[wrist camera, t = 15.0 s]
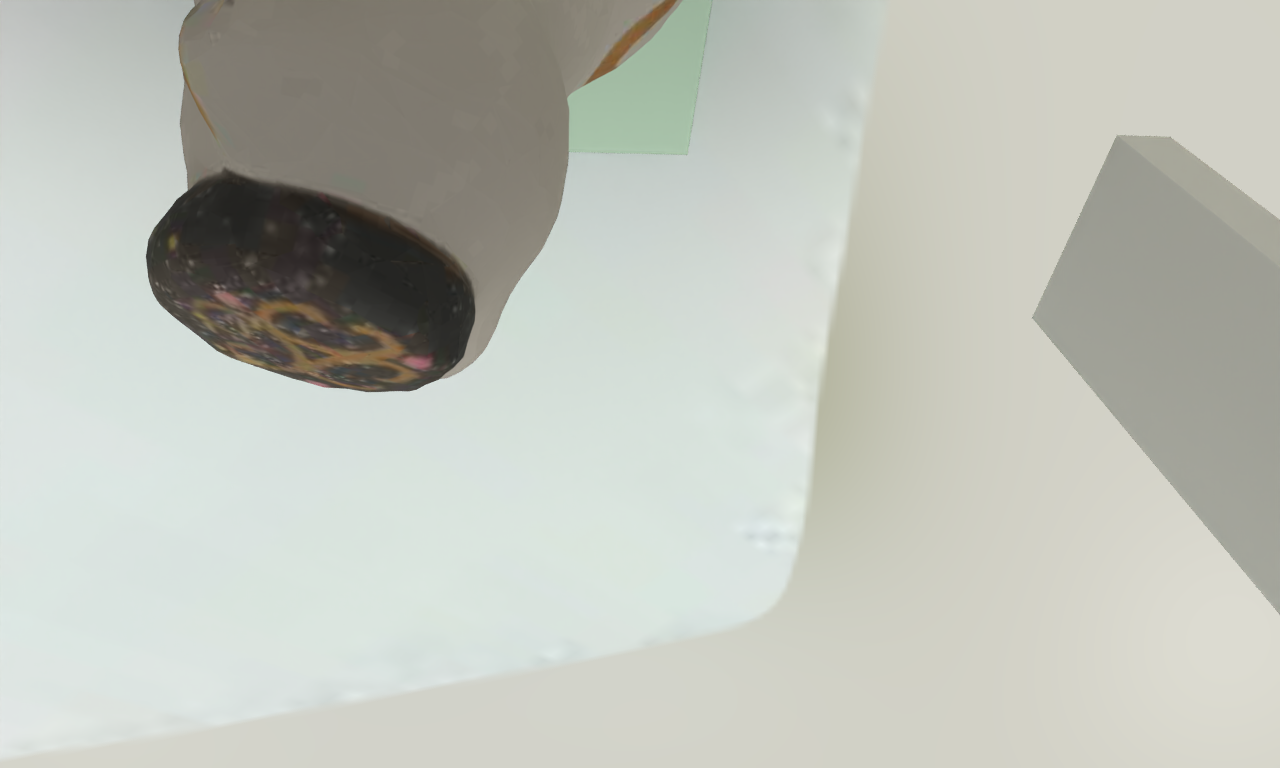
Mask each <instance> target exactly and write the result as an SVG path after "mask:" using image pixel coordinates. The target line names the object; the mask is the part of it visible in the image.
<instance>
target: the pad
mask: <svg viewBox="0 0 1280 768" xmlns="http://www.w3.org/2000/svg"><path fill="white" fill-rule="evenodd" d="M711 5H712V0H683V1H682V2H681V3H680V5H679V6H678V7H677V9H676V10H675V11H674V12H673V13H672V14H671V15H670V16H669V18H668V19H667V20H666V22H665V23H664V25H663V26H662V27H661V29H660V30H659V31H658V32H657V33H656V34H655V35H654V37H653V38H652V39H651V40H650V41H649V42H647V43H646V44H645V45H644V46H643V47H642V48H641V49H639V50H638V51H637V52H636V53H635V54H633V55H632V56H631V57H630V58H629V59H627V60H626V61H625V62H624V63H623V64H621V65H620V66H619V67H618V68H616V69H615V70H613V71H611V72H609V73H607V74H605V75H603V76H601V77H599V78H597V79H596V80H594V81H592V82H590V83H588V84H586V85H585V86H583V87H581V88H579V89H577V90H576V91H574V92H573V93H571V94H570V95H569V96H568V98H567V101H568V106H569V152H594V153H634V154H673V155H687V153H688V147H689V141H690V135H691V129H692V122H693V116H694V110H695V104H696V98H697V91H698V85H699V79H700V73H701V67H702V60H703V54H704V48H705V42H706V36H707V30H708V23H709V17H710V11H711Z"/></svg>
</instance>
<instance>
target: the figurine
mask: <svg viewBox="0 0 1280 768" xmlns="http://www.w3.org/2000/svg"><path fill="white" fill-rule="evenodd" d="M682 1H683V0H194V3H195V7H194V8H193V9H192V10H191V11H190V12H189V14H188V15H187V17H186V18H185V20H184V21H183V25H182V28H181V31H180V35H179V56H180V63H181V66H182V70H183V76H184V80H185V83H184V92H183V100H182V109H181V117H180V128H181V136H182V145H183V153H184V159H185V164H186V169H187V182H188V191H187V192H186V193H184V194H183V195H182V196H181V197H179V198H178V199H177V200H176V201H175V203H174V204H173V206H172V207H171V208H170V209H169V211H168V212H167V213H166V214H165V216H164V217H163V218H162V219H161V221H160V222H159V223H158V224H157V225H156V227H155V228H154V230H153V232H152V234H151V236H150V238H149V240H148V247H147V254H146V260H147V269H148V277H149V282H150V285H151V288H152V291H153V294H154V296H155V297H156V299H157V301H158V302H159V304H160V305H161V306H162V307H164V308H165V309H166V310H167V311H168V312H169V313H170V314H171V315H172V316H173V317H175V318H176V319H177V320H179V321H180V322H181V323H182V324H184V325H185V326H186V327H188V328H189V329H190V330H192V331H193V332H194V333H196V334H197V335H198V336H200V337H201V338H202V339H203V340H204V341H206V342H207V343H208V344H209V345H211V346H212V347H213V348H214V349H215V350H217V351H219V352H221V353H223V354H225V355H227V356H229V357H231V358H233V359H236V360H239V361H242V362H245V363H248V364H251V365H254V366H257V367H260V368H263V369H265V370H268V371H272V372H275V373H278V374H281V375H284V376H287V377H290V378H293V379H297V380H301V381H305V382H308V383H311V384H315V385H318V386H321V387H327V388H346V389H352V390H358V391H364V392H386V391H412V390H417V389H418V388H420V387H422V386H424V385H426V384H429V383H431V382H434V381H436V380H439V379H442V378H448V377H450V376H452V375H455V374H457V373H459V372H461V371H462V370H463V369H465V368H466V367H468V366H469V365H470V364H472V363H473V362H474V361H475V360H476V359H477V358H478V357H479V356H480V355H481V354H482V353H483V351H484V350H485V348H486V347H487V345H488V343H489V341H490V339H491V337H492V335H493V333H494V331H495V329H496V327H497V324H498V321H499V319H500V316H501V313H502V311H503V308H504V306H505V304H506V302H507V300H508V298H509V296H510V294H511V292H512V291H513V289H514V288H515V286H516V284H517V283H518V281H519V280H520V278H521V277H522V275H523V274H524V273H525V271H526V270H527V269H528V267H529V266H530V265H531V263H532V262H533V261H534V259H535V258H536V257H537V255H538V254H539V253H540V251H541V250H542V248H543V246H544V244H545V242H546V240H547V238H548V236H549V234H550V232H551V229H552V227H553V225H554V223H555V221H556V219H557V216H558V213H559V209H560V205H561V201H562V195H563V189H564V183H565V178H566V172H567V166H568V155H569V106H568V101H567V98H568V96H569V95H570V94H571V93H573V92H574V91H576V90H577V89H579V88H581V87H583V86H585V85H586V84H588V83H590V82H592V81H594V80H596V79H597V78H599V77H601V76H603V75H605V74H607V73H609V72H611V71H613V70H615V69H616V68H618V67H619V66H620V65H621V64H623V63H624V62H625V61H626V60H627V59H629V58H630V57H631V56H632V55H633V54H635V53H636V52H637V51H638V50H639V49H641V48H642V47H643V46H644V45H645V44H646V43H647V42H649V41H650V40H651V39H652V38H653V37H654V35H655V34H656V33H657V32H658V31H659V30H660V29H661V27H662V26H663V25H664V23H665V22H666V20H667V19H668V18H669V16H670V15H671V14H672V13H673V12H674V11H675V10H676V9H677V7H678V6H679V5H680V3H681V2H682Z"/></svg>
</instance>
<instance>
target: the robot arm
mask: <svg viewBox="0 0 1280 768" xmlns="http://www.w3.org/2000/svg"><path fill="white" fill-rule="evenodd" d="M1032 318H1033V319H1034V321H1035V322H1036V323H1037V324H1038V325H1039V327H1040V328H1041V329H1042V330H1043V331H1044V332H1045V334H1046V335H1047V336H1048V337H1049V339H1050V340H1051V341H1052V342H1053V343H1054V345H1055V346H1056V347H1057V348H1058V349H1059V350H1060V352H1061V353H1062V354H1063V355H1064V357H1065V358H1066V359H1067V360H1068V361H1069V362H1070V364H1071V365H1072V366H1073V367H1074V369H1075V370H1076V371H1077V372H1078V373H1079V375H1080V376H1081V377H1082V378H1083V379H1084V381H1085V382H1086V383H1087V384H1088V385H1089V386H1090V388H1091V389H1092V390H1093V391H1094V392H1095V393H1096V395H1097V396H1098V397H1099V398H1100V400H1101V401H1102V402H1103V403H1104V404H1105V406H1106V407H1107V408H1108V409H1109V410H1110V412H1111V413H1112V414H1113V415H1114V416H1115V418H1116V419H1117V420H1118V421H1119V422H1120V424H1121V425H1122V426H1123V427H1124V428H1125V430H1126V431H1127V432H1128V433H1129V434H1130V436H1131V437H1132V438H1133V439H1134V440H1135V442H1136V443H1137V444H1138V445H1139V446H1140V447H1141V448H1142V450H1143V451H1144V452H1145V454H1146V455H1147V456H1148V457H1149V458H1150V460H1151V461H1152V462H1153V463H1154V464H1155V466H1156V467H1157V468H1158V469H1159V470H1160V472H1161V473H1162V474H1163V475H1164V476H1165V477H1166V479H1167V480H1168V481H1169V482H1170V484H1171V485H1172V486H1173V487H1174V488H1175V489H1176V491H1177V492H1178V493H1179V494H1180V496H1181V497H1182V498H1183V499H1184V500H1185V501H1186V503H1187V504H1188V505H1189V506H1190V507H1191V509H1192V510H1193V511H1194V512H1195V513H1196V515H1197V516H1198V517H1199V518H1200V519H1201V521H1202V522H1203V523H1204V524H1205V525H1206V527H1207V528H1208V529H1209V530H1210V531H1211V533H1212V534H1213V535H1214V536H1215V537H1216V538H1217V540H1218V541H1219V542H1220V543H1221V545H1222V546H1223V547H1224V548H1225V549H1226V551H1227V552H1228V553H1229V554H1230V555H1231V557H1232V558H1233V559H1234V560H1235V561H1236V562H1237V564H1238V565H1239V566H1240V567H1241V569H1242V570H1243V571H1244V572H1245V573H1246V574H1247V576H1248V577H1249V578H1250V579H1251V581H1252V582H1253V583H1254V584H1255V585H1256V587H1257V588H1258V589H1259V590H1260V591H1261V592H1262V594H1263V595H1264V596H1265V597H1266V599H1267V600H1268V601H1269V602H1270V603H1271V605H1272V606H1273V607H1274V608H1275V609H1276V611H1277V612H1278V613H1279V614H1280V220H1279V219H1278V218H1277V217H1275V216H1274V215H1273V214H1271V213H1270V212H1269V211H1267V210H1266V209H1265V208H1263V207H1262V206H1261V205H1259V204H1258V203H1257V202H1255V201H1254V200H1253V199H1251V198H1250V197H1249V196H1247V195H1246V194H1245V193H1244V192H1242V191H1241V190H1240V189H1238V188H1237V187H1236V186H1234V185H1233V184H1232V183H1230V182H1229V181H1228V180H1226V179H1225V178H1224V177H1222V176H1221V175H1220V174H1218V173H1217V172H1216V171H1215V170H1213V169H1212V168H1210V167H1209V166H1208V165H1207V164H1205V163H1204V162H1202V161H1201V160H1200V159H1198V158H1197V157H1196V156H1195V155H1193V154H1192V153H1190V152H1189V151H1188V150H1187V149H1185V148H1184V147H1183V146H1181V145H1180V144H1179V143H1177V142H1176V141H1175V140H1174V139H1172V138H1171V137H1157V136H1125V135H1117V136H1116V138H1115V141H1114V143H1113V145H1112V147H1111V149H1110V151H1109V153H1108V156H1107V158H1106V160H1105V162H1104V164H1103V166H1102V169H1101V171H1100V173H1099V175H1098V177H1097V180H1096V181H1095V184H1094V186H1093V188H1092V190H1091V192H1090V194H1089V197H1088V199H1087V201H1086V203H1085V205H1084V207H1083V209H1082V212H1081V214H1080V216H1079V218H1078V220H1077V222H1076V224H1075V227H1074V229H1073V231H1072V233H1071V236H1070V237H1069V240H1068V242H1067V244H1066V246H1065V248H1064V250H1063V252H1062V255H1061V257H1060V259H1059V261H1058V263H1057V265H1056V268H1055V270H1054V272H1053V274H1052V276H1051V278H1050V280H1049V283H1048V285H1047V287H1046V289H1045V291H1044V293H1043V296H1042V298H1041V300H1040V302H1039V304H1038V307H1037V308H1036V311H1035V313H1034V315H1033V317H1032Z"/></svg>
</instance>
